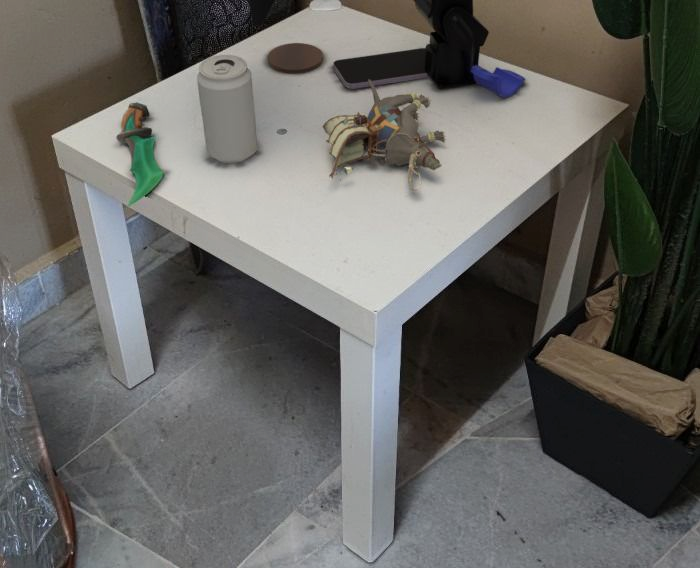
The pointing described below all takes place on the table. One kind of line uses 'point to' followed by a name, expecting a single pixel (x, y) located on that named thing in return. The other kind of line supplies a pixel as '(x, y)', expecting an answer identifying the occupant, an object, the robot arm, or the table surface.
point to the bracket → (498, 80)
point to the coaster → (295, 58)
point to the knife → (140, 150)
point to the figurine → (384, 135)
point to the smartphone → (382, 68)
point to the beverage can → (227, 108)
